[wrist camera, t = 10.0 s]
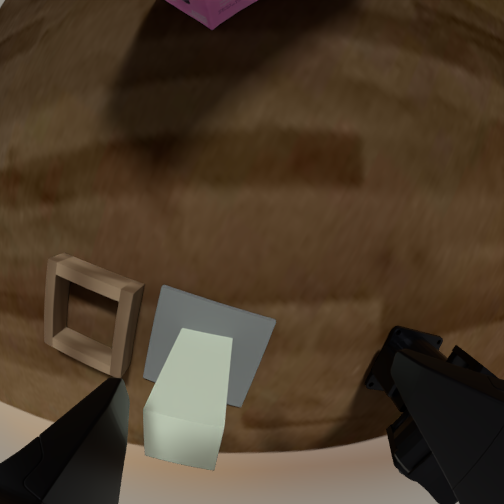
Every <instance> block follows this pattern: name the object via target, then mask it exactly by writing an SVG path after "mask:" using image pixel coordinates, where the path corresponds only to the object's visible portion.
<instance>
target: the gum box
mask: <svg viewBox="0 0 504 504" xmlns="http://www.w3.org/2000/svg"><path fill="white" fill-rule="evenodd" d="M165 1H167V2H169V3H170V4H172V5H174V6H175V7H176V8H178V9H180V10H181V11H183V12H184V13H186V14H187V15H189V16H191V17H193V18H194V19H196V20H197V21H199V22H200V23H202V24H203V25H205V26H206V27H208V28H209V29H211V30H213V29H214V28H216V27H217V26H218V25H219V24H221V23H222V22H224V21H225V20H227V19H228V18H230V17H231V16H233V15H234V14H236V13H237V12H239V11H240V10H242V9H244V8H246V7H248V6H249V5H251V4H252V3H254V2H256V1H258V0H165Z"/></svg>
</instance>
